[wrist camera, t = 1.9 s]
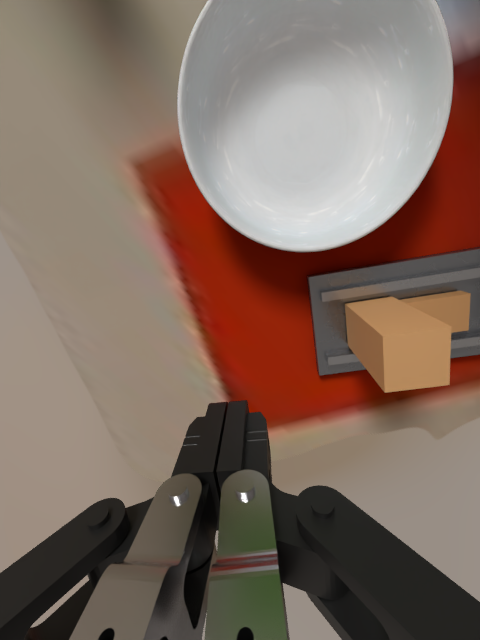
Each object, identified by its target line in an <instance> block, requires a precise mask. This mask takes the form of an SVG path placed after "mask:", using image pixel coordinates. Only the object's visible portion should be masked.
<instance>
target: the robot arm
mask: <svg viewBox="0 0 480 640" xmlns="http://www.w3.org/2000/svg"><path fill="white" fill-rule="evenodd" d="M216 530H219V533H218V549H217V550H216V545H215V534H216ZM86 575H88V577H89V581H88V582H87V583H85V585H83V586H82V587H81V588H80V589H79V590H78V591H77V592H76V593H75V594H74V595H72V596H71V597H70V598H69V599H68V600H67V601H66V602H65V603H64V604H63V605H61V606H60V607H59V608H58V609H57V610H56V611H55V612H54V613H53V614H52V615H51V616H50V617H48V618H47V619H46V620H45V621H44V622H43V623H41V624H40V625H38V626H36V627H33V628H30V627H31V625H32V624H33V623H34V622H35V621H36V620H37V619H38V618H39V617H40V616H41V615H43V614H44V613H45V612H46V611H47V610H48V609H49V608H50V607H51V606H53V605H54V604H55V603H56V602H57V601H58V600H59V599H60V598H61V597H63V596H64V595H65V594H66V593H67V592H68V591H69V590H70V589H72V588H73V587H74V586H75V585H76V584H77V583H78V582H79V581H80V580H82V579H83V578H84V577H85V576H86ZM283 583H285V584H287V585H290V586H293V587H295V588H298V589H300V590H303V591H306V593H307V594H308V596H309V598H310V599H311V601H312V602H313V603H314V605H315V606H316V607H317V608H318V610H319V611H320V612H321V613H322V615H323V616H324V617H325V619H326V620H327V621H328V622H329V623H330V625H331V626H332V627H333V629H334V630H335V631H336V632H337V634H338V635H339V636H340V637H341V639H342V640H480V602H479V601H478V600H476V599H475V598H474V597H473V596H471V595H470V594H469V593H467V592H466V591H465V590H464V589H462V588H461V587H460V586H458V585H457V584H456V583H455V582H453V581H452V580H451V579H449V578H448V577H447V576H446V575H444V574H443V573H442V572H441V571H439V570H438V569H437V568H435V567H434V566H433V565H432V564H430V563H429V562H428V561H426V560H425V559H424V558H423V557H421V556H420V555H418V554H417V553H416V552H415V551H414V550H412V549H411V548H410V547H409V546H407V545H406V544H405V543H403V542H402V541H401V540H400V539H398V538H397V537H396V536H395V535H393V534H392V533H391V532H389V531H388V530H387V529H385V528H384V527H383V526H382V525H380V524H379V523H378V522H377V521H375V520H374V519H373V518H371V517H370V516H369V515H367V514H366V513H365V512H364V511H363V510H361V509H360V508H359V507H357V506H356V505H355V504H354V503H352V502H351V501H350V500H348V499H347V498H346V497H344V496H343V495H342V494H341V493H339V492H338V491H337V490H334V489H333V488H330V487H327V486H312V487H309V488H307V489H305V490H303V491H302V492H301V493H300V494H299V496H295V495H291V494H287V493H284V492H282V491H280V490H279V489H277V488H276V487H275V486H274V485H273V484H272V475H271V454H270V445H269V438H268V430H267V423H266V419H265V418H264V416H263V415H262V413H261V412H255V413H249V408H248V402H247V400H244V401H232V402H229V403H228V402H220V403H210V404H209V405H208V409H207V412H206V416H205V417H197V418H196V419H195V420H194V421H193V422H192V423H191V425H190V426H189V428H188V431H187V433H186V438H185V439H184V442H183V446H182V448H181V450H180V453H179V456H178V459H177V462H176V465H175V467H174V470H173V473H172V476H171V478H169V479H168V480H166V481H165V482H164V483H163V484H162V485H161V486H160V487H159V489H158V490H157V492H156V494H155V496H154V497H153V498H151V499H149V500H147V501H145V502H142V503H139V504H136V505H133V506H130V507H128V508H125V506H124V503H123V502H122V501H121V500H119V499H117V498H108V499H104V500H101V501H99V502H97V503H95V504H93V505H91V506H90V507H89V508H87V509H86V510H85V511H83V512H82V513H80V514H79V515H78V516H77V517H75V518H74V519H73V520H71V521H70V522H69V523H67V524H66V525H64V526H63V527H62V528H60V529H59V530H58V531H56V532H55V533H54V534H52V535H51V536H50V537H48V538H47V539H46V540H44V541H43V542H42V543H40V544H39V545H38V546H36V547H35V548H33V549H32V550H31V551H29V552H28V553H27V554H25V555H24V556H23V557H21V558H20V559H19V560H18V561H16V562H15V563H13V564H12V565H11V566H9V567H8V568H7V569H5V570H4V571H3V572H1V573H0V640H202V633H203V628H204V623H205V618H206V629H205V640H290V638H289V631H288V623H287V615H286V607H285V599H284V591H283ZM206 613H207V617H206Z"/></svg>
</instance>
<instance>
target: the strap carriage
mask: <svg viewBox="0 0 480 640" xmlns="http://www.w3.org/2000/svg"><path fill="white" fill-rule="evenodd" d="M470 296H471V293H467V292H464V291H461V290H460V291H454V292H447V293H441V294H434V295H428V296H421V297H415V298H408V299H402V300H398V299H396V298H394V297H386V298H379V299H373V300H366V301H360V302H353V303H347V304H345V314H346V327H347V340H348V346H349V348H350V349H351V350H352V352H353V353H354V354H355V355H356V357H357V358H358V359H359V360H360V362H361V363H362V364H363V366H364V367H365V368H366V369H367V371H368V372H369V373H370V375H371V376H372V377H373V378H374V380H375V381H376V382H377V383H378V385H379V386H380V387H381V389H382V390H383V391H384V392H385V393H387V392H395V391H403V390H412V389H420V388H428V387H436V386H444V385H449V380H450V353H451V333H453V332H461V331H468V330H469V314H470Z"/></svg>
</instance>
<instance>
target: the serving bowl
mask: <svg viewBox="0 0 480 640" xmlns="http://www.w3.org/2000/svg"><path fill="white" fill-rule="evenodd" d="M452 92H453V60H452V52H451V45H450V41H449V36H448V32H447V28H446V25H445V22H444V19H443V16H442V14H441V11H440V8H439V6H438V4H437V2H436V0H208V1H207V3H206V5H205V6H204V8H203V10H202V11H201V13H200V15H199V17H198V19H197V21H196V23H195V25H194V27H193V30H192V32H191V35H190V37H189V40H188V43H187V46H186V49H185V52H184V56H183V60H182V65H181V70H180V76H179V84H178V97H177V109H178V126H179V133H180V139H181V143H182V147H183V151H184V155H185V158H186V161H187V164H188V167H189V169H190V172H191V174H192V176H193V178H194V180H195V182H196V184H197V186H198V188H199V190H200V191H201V193H202V194H203V196H204V198H205V199H206V200H207V202H208V203H209V204H210V206H211V207H212V208H213V209H214V210H215V212H216V213H217V214H218V215H219V216H220V217H221V218H222V219H223V220H224V221H225V222H226V223H228V224H229V225H230V226H231V227H232V228H234V229H235V230H236V231H238V232H239V233H241V234H242V235H244V236H246V237H247V238H249V239H251V240H253V241H255V242H257V243H260V244H263V245H265V246H268V247H271V248H275V249H279V250H284V251H292V252H316V251H324V250H329V249H333V248H337V247H340V246H343V245H346V244H349V243H351V242H353V241H356V240H358V239H360V238H362V237H364V236H365V235H367V234H369V233H370V232H372V231H374V230H375V229H377V228H378V227H379V226H381V225H382V224H383V223H385V222H386V221H387V220H388V219H390V218H391V217H392V216H393V215H394V214H395V213H396V212H397V211H398V210H399V209H400V208H401V207H402V206H403V205H404V204H405V203H406V202H407V201H408V199H409V198H410V197H411V196H412V195H413V193H414V192H415V191H416V189H417V188H418V187H419V185H420V184H421V182H422V181H423V179H424V177H425V176H426V174H427V172H428V170H429V169H430V167H431V165H432V163H433V161H434V159H435V157H436V154H437V152H438V150H439V147H440V145H441V142H442V139H443V136H444V133H445V130H446V127H447V123H448V118H449V114H450V108H451V102H452Z"/></svg>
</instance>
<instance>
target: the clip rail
mask: <svg viewBox="0 0 480 640" xmlns="http://www.w3.org/2000/svg"><path fill="white" fill-rule="evenodd" d="M307 281H308V290H309V300H310V309H311V318H312V327H313V336H314V345H315V354H316V363H317V371H318V373H319V375H327V374H334V373H342V372H350V371H357V370H365V369H366V368H365V367H364V366H363V364H362V363H361V362H360V360H359V359H358V358H357V357H356V355H355V354H354V353H353V352H352V350H351V349H350V348H349V346H348V340H347V327H346V314H345V304H347V303H353V302H360V301H366V300H373V299H379V298H386V297H394V298H396V299H398V300H402V299H408V298H415V297H421V296H428V295H434V294H441V293H447V292H454V291H460V290H461V291H464V292H467V293H471V296H470V314H469V330H468V331H461V332H453V333H451V353H450V358H456V357H464V356H471V355H479V354H480V247H475V248H469V249H463V250H457V251H451V252H445V253H439V254H433V255H427V256H421V257H415V258H409V259H403V260H397V261H391V262H385V263H379V264H373V265H367V266H361V267H355V268H349V269H343V270H337V271H331V272H325V273H319V274H313V275H307Z"/></svg>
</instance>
